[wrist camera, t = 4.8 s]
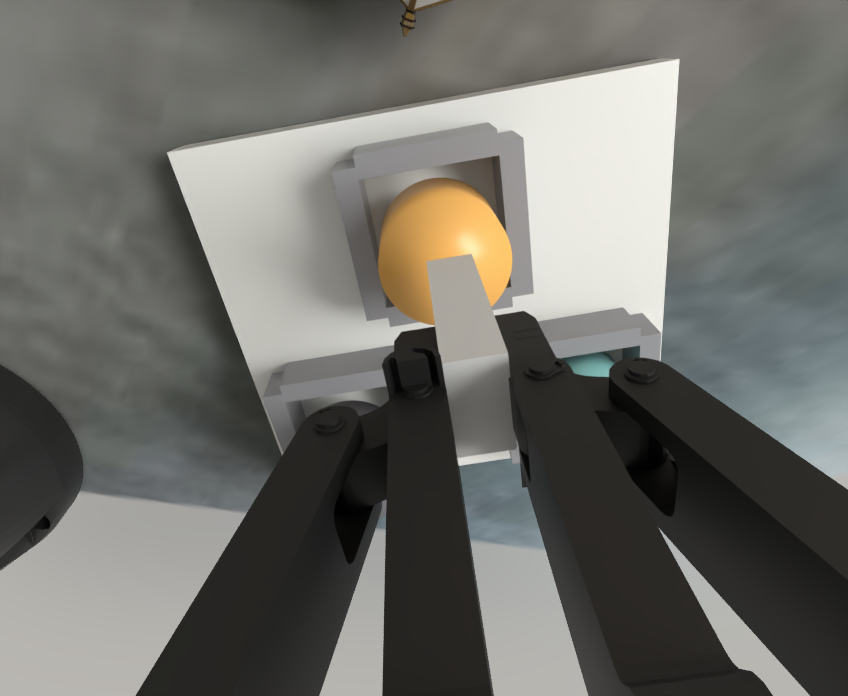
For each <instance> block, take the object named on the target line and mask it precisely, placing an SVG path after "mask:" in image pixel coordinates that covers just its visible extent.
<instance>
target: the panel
mask: <svg viewBox="0 0 848 696" xmlns="http://www.w3.org/2000/svg"><path fill="white" fill-rule="evenodd" d="M678 72H679V59H654V60H648V61H643V62H637V63H632V64H626V65H621V66H616V67H610V68H605V69H599V70H594V71H588V72H583V73H577V74H572V75H566V76H561V77H555V78H550V79H544V80H539V81H533V82H528V83H522V84H517V85H512V86H506V87H501V88H495V89H490V90H484V91H479V92H473V93H468V94H462V95H457V96H451V97H446V98H440V99H435V100H429V101H424V102H419V103H413V104H408V105H402V106H397V107H391V108H386V109H380V110H375V111H369V112H364V113H358V114H353V115H347V116H342V117H336V118H331V119H325V120H320V121H315V122H309V123H304V124H298V125H293V126H287V127H282V128H276V129H271V130H265V131H260V132H254V133H249V134H243V135H238V136H232V137H227V138H221V139H216V140H211V141H205V142H200V143H194V144H189V145H183V146H181V147H179V148H176V149H174V150H172V151H169V152H167V154H168V157H169V159H170V162H171V165H172V167H173V170H174V173H175V175H176V178H177V180H178V183H179V186H180V188H181V191H182V194H183V196H184V199H185V202H186V204H187V207H188V209H189V212H190V215H191V217H192V220H193V223H194V225H195V228H196V230H197V233H198V236H199V238H200V241H201V244H202V246H203V249H204V252H205V254H206V257H207V259H208V262H209V265H210V267H211V270H212V273H213V275H214V278H215V281H216V283H217V286H218V288H219V291H220V294H221V296H222V299H223V302H224V304H225V307H226V309H227V312H228V315H229V317H230V320H231V323H232V325H233V328H234V331H235V333H236V336H237V338H238V341H239V344H240V346H241V349H242V352H243V354H244V357H245V360H246V362H247V365H248V367H249V370H250V373H251V375H252V378H253V381H254V383H255V386H256V388H257V391H258V394H259V396H260V399H261V402H262V404H263V407H264V410H265V412H266V415H267V417H268V420H269V423H270V425H271V428H272V431H273V433H274V436H275V439H276V441H277V444H278V446H279V449H280V452H281V454H282V455H283V453H284V452H285V450H286V449H287V447H288V445H289V444H290V442H291V440H292V439H293V437H294V435H295V434H296V432H297V431H298V429H299V427H300V426H301V424H302V423H303V422H304V420H305V419H306V418H307V417H308V416H310V415H311V414H313V413H314V412H316V411H318V410H320V409H323V408H325V407H327V406H329V405H331V404H334V403H337V402H341V401H349V400H356V401H364V402H368V403H372V404H374V405H377V406H379V407H381V406H382V405H384V404H385V403H386V402H387V401H388V400H389V394H388V390H387V385H386V381H385V377H384V372H383V368H382V363H383V361H384V358H386V357H387V356H388V355H389V354H390V353H392V352H394V341H395V340H396V338H397V337H398V336H399V334H400V333H401V332H403V331H409V330H416V329H422V328H428V327H435V325H429V324H425V323H421V322H419V321H416V320H414V319H412V318H410V317H408V316H407V315H405V314H404V313H402V312H401V311H400V310H399V309H398V308H397V307H395V306H394V304H393V303H392V302H391V301H390V300H389V298H388V296H387V295H386V293H385V291H384V289H383V287H382V284H381V281H380V277H379V270H378V257H379V247H380V236H381V228H382V223H383V219H384V216H385V214H386V211H387V209H388V208H389V206H390V204H391V203H392V202H393V200H394V199H395V198H396V197H397V196H398V195H399V194H400V193H401V192H402V191H403V190H405V189H406V188H407V187H409V186H411V185H413V184H414V183H417V182H419V181H422V180H426V179H430V178H451V179H456V180H459V181H462V182H464V183H466V184H468V185H470V186H471V187H473V188H475V189H476V190H477V191H478V192H479V193H481V194H482V196H483V197H484V198H485V199H486V200H487V202H488V203H489V205H490V207H491V208H492V210H493V212H494V213H495V215H496V217H497V218H498V220H499V222H500V223H501V225H502V227H503V228H504V230H505V232H506V234H507V236H508V238H509V242H510V245H511V250H512V270H511V274H510V278H509V281H508V284H507V286H506V288H505V290H504V292H503V293H502V295H501V296H500V298H499V299H498V300H497V302H496V303H495V304H494V305H493V306H492V307H491V308H492V311H493V313H494V316H495V315H501V314H508V313H514V312H520V311H525V312H527V313H528V314H530V315H532V316H534V317H535V318H536V320H537V322H538V323H539V325H540V329H542V331H543V333H544V336H545V337H546V339H547V341H548V343H549V345H550V347H551V348H552V350H553V352H554V354H555V356H556V358H565V357H571V356H578V355H584V354H590V353H596V352H603V351H605V352H606V353H608V354H609V355H610V356H611V358H612V359H613V360H614V362H615V363H617V362H619V361H621V360H624V359H629V358H636V357H639V358H641V357H643V358H649V359H654V360H658V361H660V358H661V342H662V326H663V310H664V295H665V279H666V263H667V247H668V231H669V215H670V199H671V183H672V167H673V152H674V136H675V120H676V104H677V88H678ZM516 445H517V449H515V450H508V451H502V452H495V453H488V454H482V455H475V456H468V457H461V458H457V459H458V465H459V466H461V465H467V464H474V463H480V462H487V461H493V460H500V459H506V458H511V461H512V464H515V463H520V454H519V445H518V442H517V439H516Z"/></svg>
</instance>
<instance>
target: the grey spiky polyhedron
mask: <svg viewBox="0 0 848 696" xmlns="http://www.w3.org/2000/svg"><path fill="white" fill-rule="evenodd" d="M400 1H401V2H402V3H403V5H404V6H405V7H406V12H405V14H404V16H403V15H402V18H403V19H402V22H400V25H401V26H402V30H403V35H404V37H405V36H406V35H407V34H408V33H409V32H410V31H411V30H412V29H414V27H413V26H414V22H416V20H415V12H416V11H419V10H423V9H426V8H429V7H432V6H436V5H439V4H442V3H445V2H449V1H452V0H400Z"/></svg>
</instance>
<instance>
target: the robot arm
mask: <svg viewBox="0 0 848 696" xmlns="http://www.w3.org/2000/svg"><path fill="white" fill-rule="evenodd" d="M426 263H427V270H428V277H429V285H430V292H431V299H432V307H433V314H434V321H435V327H428V328H422V329H416V330H409V331H403V332H401V333H400V334H399V336H398V337H397V338H396V340H395V341H394V352H392V353H390V354H389V355H388V356H387V357H386V358H384V361H383V363H382V368H383V372H384V377H385V381H386V385H387V390H388V394H389V400H388V401H387V402H386V403H385V404H384V405H382V406H381V407H379V408H378V409H376V410H374V411H371V412H369V413H366V414H364V415H361V416H359V415H358V413H357V411H356V410H355V409H353V408H351V407H349V406H341V405H337V406H329V407H326V408H323V409H320V410H318V411H316V412H314V413H313V414H311V415H310V416H308V417H307V418H306V419H305V420H304V422H303V423H302V424H301V426H300V427H299V429H298V431H297V432H296V434H295V435H294V437H293V439H292V440H291V442H290V444H289V445H288V447H287V449H286V450H285V452H284V453H283V455H282V457H281V458H280V460H279V462H278V463H277V465H276V467H275V468H274V470H273V471H272V473H271V475H270V476H269V478H268V480H267V481H266V483H265V485H264V486H263V488H262V489H261V491H260V493H259V494H258V496H257V498H256V499H255V501H254V503H253V504H252V506H251V508H250V509H249V511H248V512H247V514H246V516H245V517H244V519H243V521H242V522H241V524H240V526H239V527H238V529H237V530H236V532H235V534H234V535H233V537H232V539H231V540H230V542H229V544H228V545H227V547H226V548H225V550H224V552H223V553H222V555H221V557H220V558H219V560H218V562H217V563H216V565H215V567H214V568H213V570H212V571H211V573H210V575H209V576H208V578H207V580H206V581H205V583H204V584H203V586H202V588H201V589H200V591H199V593H198V595H197V596H196V598H195V599H194V601H193V603H192V604H191V606H190V607H189V609H188V611H187V612H186V614H185V616H184V617H183V619H182V621H181V622H180V624H179V625H178V627H177V629H176V630H175V632H174V634H173V635H172V637H171V639H170V640H169V642H168V644H167V645H166V647H165V649H164V650H163V652H162V653H161V655H160V657H159V658H158V660H157V661H156V663H155V665H154V667H153V668H152V670H151V671H150V673H149V675H148V676H147V678H146V680H145V681H144V683H143V685H142V686H141V688H140V690H139V691H138V693H137V694H136V696H319V694H320V692H321V689H322V686H323V683H324V680H325V677H326V674H327V671H328V668H329V665H330V662H331V659H332V656H333V653H334V650H335V647H336V644H337V641H338V638H339V635H340V632H341V629H342V626H343V623H344V621H345V618H346V614H347V611H348V608H349V606H350V603H351V600H352V597H353V594H354V591H355V588H356V585H357V582H358V579H359V576H360V573H361V570H362V567H363V564H364V561H365V558H366V555H367V552H368V549H369V546H370V543H371V540H372V537H373V534H374V531H375V528H376V525H377V522H378V519H379V516H380V514H381V510H382V501H384V500H387V503H386V551H385V552H386V553H385V557H386V558H385V601H384V647H383V696H494V694H493V688H492V682H491V675H490V668H489V661H488V656H487V648H486V642H485V635H484V628H483V622H482V616H481V609H480V602H479V596H478V589H477V582H476V576H475V569H474V563H473V557H472V550H471V543H470V536H469V530H468V523H467V517H466V510H465V504H464V497H463V490H462V484H461V477H460V471H459V465H458V459H457V458H461V457H468V456H475V455H482V454H488V453H495V452H502V451H508V450H515V449H517V445H516V439H517V442H518V445H519V454H520V465H521V477H522V488H523V487H527V488H528V491H529V495H530V498H531V501H532V505H533V508H534V512H535V515H536V518H537V522H538V525H539V529H540V532H541V535H542V539H543V542H544V546H545V549H546V552H547V556H548V559H549V563H550V566H551V569H552V573H553V576H554V580H555V583H556V586H557V590H558V593H559V596H560V600H561V603H562V607H563V610H564V613H565V617H566V620H567V624H568V627H569V631H570V634H571V637H572V641H573V644H574V648H575V651H576V654H577V657H578V661H579V665H580V668H581V672H582V675H583V678H584V682H585V685H586V688H587V692H588V695H589V696H773V695H772V694H771V693H770V691H769V689H768V688H767V687H766V685H765V684H764V682H763V681H761V679H760V678H758V677H757V676H756V675H755V674H754V673H753V672H751V671H747V670H742V669H739V668H738V667H736V665H734V663H732V661H731V660H730V658H729V657H728V655H727V653H726V652H725V650H724V648H723V646H722V644H721V642H720V641H719V639H718V637H717V635H716V633H715V631H714V630H713V628H712V626H711V624H710V622H709V620H708V618H707V617H706V615H705V613H704V611H703V609H702V607H701V606H700V604H699V602H698V600H697V598H696V597H695V595H694V593H693V591H692V589H691V587H690V585H689V584H688V582H687V580H686V578H685V576H684V574H683V572H682V571H681V569H680V567H679V566H678V563H677V561H676V560H675V558H674V556H673V554H672V552H671V551H670V549H669V547H668V545H667V544H666V541H665V540H664V538H663V536H662V534H661V532H660V530H659V528H660V529H661V531H662V532H663V533H664V534H665V535H666V536H667V537H668V538H669V539H670V540H671V542H673V544H674V545H675V546H676V547H677V548H678V549H679V551H680V552H681V553H682V554H683V555H684V556H685V557H686V558H687V559H688V561H690V563H691V564H692V565H693V566H694V567H695V568H696V569H697V570H698V572H699V573H700V574H701V575H702V576H703V577H704V578H705V579H706V580H707V582H708V583H709V584H710V585H711V586H712V587H713V588H714V589H715V591H716V592H717V593H718V594H719V595H720V596H721V597H722V598H723V599H724V600H725V602H726V603H727V604H728V605H729V606H730V607H731V608H732V609H733V610H734V612H735V613H736V614H737V615H738V616H739V617H740V618H741V619H742V620H743V621H744V623H745V624H746V625H747V626H748V627H749V628H750V629H751V630H752V632H753V633H754V634H755V635H756V636H757V637H758V638H759V639H760V640H761V642H762V643H763V644H764V645H765V646H766V647H767V648H768V649H769V650H770V652H771V653H772V654H773V655H774V656H775V657H776V658H777V659H778V660H779V662H780V663H781V664H782V665H783V666H784V667H785V668H786V669H787V670H788V672H790V674H791V675H792V676H793V677H794V678H795V679H796V680H797V681H798V683H799V684H800V685H801V686H802V687H803V688H804V689H805V690H806V691H807V692H808V694H809V695H810V696H848V490H847V489H846V488H845V487H843V486H842V485H840V484H839V483H837V482H836V481H834V480H833V479H832V478H830V477H829V476H827V475H826V474H824V473H823V472H821V471H820V470H819V469H817V468H816V467H814V466H813V465H811V464H810V463H808V462H807V461H806V460H804V459H803V458H801V457H800V456H798V455H797V454H796V453H794V452H793V451H791V450H790V449H788V448H787V447H785V446H784V445H783V444H781V443H780V442H778V441H777V440H775V439H774V438H772V437H771V436H770V435H768V434H767V433H765V432H764V431H762V430H761V429H759V428H758V427H757V426H755V425H754V424H752V423H751V422H749V421H748V420H746V419H745V418H744V417H742V416H741V415H739V414H738V413H736V412H735V411H733V410H732V409H731V408H729V407H728V406H726V405H725V404H723V403H722V402H720V401H719V400H718V399H716V398H715V397H713V396H712V395H710V394H709V393H707V392H706V391H705V390H703V389H702V388H700V387H699V386H697V385H696V384H694V383H693V382H692V381H690V380H689V379H687V378H686V377H684V376H683V375H682V374H680V373H679V372H677V371H676V370H674V369H673V368H671V367H670V366H669V365H667V364H665V363H662V362H660V361H658V360H654V359H649V358H643V357H641V358H639V357H636V358H629V359H624V360H621V361H619V362H617V363H615V364H613V366H612V367H611V368H610V369H609V377H596V376H584V375H579V374H575V373H574V372H573V370H572V368H571V367H570V366H569V365H568V364H567V362H566V361H564V360H561V359H559V358H556V356H555V354H554V352H553V350H552V348H551V347H550V345H549V343H548V341H547V339H546V337H545V336H544V333H543V331H542V329H540V325H539V323H538V322H537V320H536V318H535V317H534V316H532V315H530V314H528V313H527V312H525V311H520V312H514V313H508V314H501V315H495V316H494V313H493V311H492V308H491V305H490V302H489V300H488V297H487V294H486V291H485V289H484V286H483V283H482V281H481V278H480V275H479V272H478V270H477V267H476V264H475V262H474V259H473V256H472V254H467V255H461V256H455V257H449V258H443V259H437V260H431V261H426ZM82 478H83V463H82V457H81V453H80V449H79V446H78V444H77V441H76V439H75V437H74V435H73V433H72V431H71V429H70V428H69V426H68V424H67V423H66V421H65V420H64V419H63V417H62V416H61V415H60V413H59V412H58V411H57V410H56V409H55V408H54V406H53V405H52V404H51V403H50V402H49V401H48V400H47V399H46V398H45V397H44V396H43V395H42V394H40V393H39V392H38V391H37V390H36V389H35V388H33V387H32V386H31V385H30V384H28V383H27V382H26V381H24V380H23V379H22V378H20V377H19V376H17V375H16V374H14V373H13V372H11V371H9V370H8V369H6V368H4V367H2V366H1V365H0V570H2V569H3V568H4V567H6V566H7V565H8V564H10V563H11V562H13V561H14V560H16V559H17V558H18V557H19V556H21V555H22V554H24V553H25V552H27V551H28V550H29V549H31V548H32V547H33V546H35V545H36V544H38V543H39V542H40V541H41V540H43V539H44V538H45V537H46V536H47V535H48V534H49V533H50V532H51V531H52V530H53V529H54V528H55V527H56V525H57V524H58V523H59V521H60V520H61V518H62V517H63V516H64V514H65V513H66V512H67V510H68V509H69V507H70V506H71V505H72V503H73V502H74V500H75V499H76V497H77V495H78V493H79V490H80V488H81V484H82ZM657 526H658V527H659V528H658V527H657Z"/></svg>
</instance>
